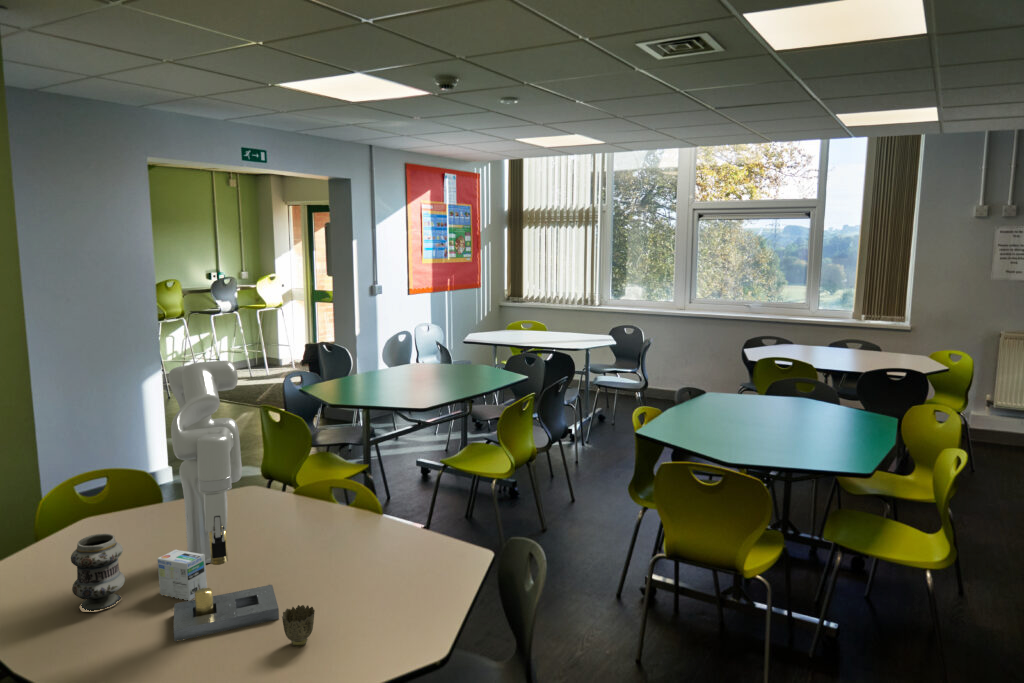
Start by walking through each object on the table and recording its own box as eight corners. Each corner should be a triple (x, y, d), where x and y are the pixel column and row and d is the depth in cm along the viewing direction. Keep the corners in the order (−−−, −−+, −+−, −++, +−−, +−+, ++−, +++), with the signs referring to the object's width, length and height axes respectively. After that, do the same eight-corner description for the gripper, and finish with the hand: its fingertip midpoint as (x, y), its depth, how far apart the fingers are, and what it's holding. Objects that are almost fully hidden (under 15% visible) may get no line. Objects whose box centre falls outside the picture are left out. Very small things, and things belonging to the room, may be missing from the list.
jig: (175, 614, 176) (174, 603, 176) (272, 594, 186) (272, 584, 186) (174, 641, 164) (173, 630, 163) (279, 619, 174) (278, 607, 174)
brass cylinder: (210, 559, 174) (209, 529, 173) (227, 556, 176) (226, 527, 175) (210, 566, 171) (209, 535, 170) (228, 563, 172) (226, 532, 171)
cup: (287, 636, 166) (286, 605, 165) (318, 634, 167) (317, 603, 166) (279, 653, 159) (278, 621, 158) (312, 651, 159) (310, 619, 158)
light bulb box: (208, 590, 189) (206, 553, 188) (189, 602, 183) (187, 563, 182) (178, 584, 193) (175, 548, 191) (158, 595, 186) (156, 558, 185)
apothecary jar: (115, 613, 177) (110, 547, 175) (65, 617, 175) (59, 550, 173) (133, 591, 189) (128, 528, 187) (86, 594, 187) (81, 531, 185)
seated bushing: (196, 619, 174) (194, 589, 173) (213, 615, 176) (211, 586, 175) (196, 627, 170) (195, 596, 169) (214, 623, 172) (212, 593, 171)
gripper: (199, 476, 177) (203, 543, 179) (198, 496, 162) (202, 569, 164) (230, 472, 180) (233, 538, 182) (232, 491, 165) (236, 564, 167)
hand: (219, 552), depth 173 cm, fingers closed on brass cylinder, 4 cm apart
